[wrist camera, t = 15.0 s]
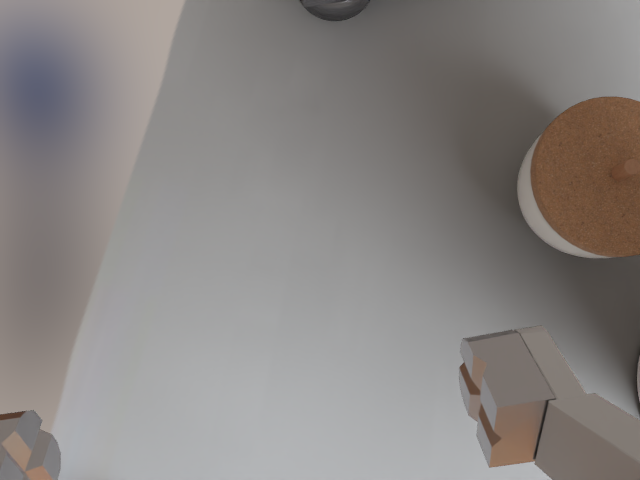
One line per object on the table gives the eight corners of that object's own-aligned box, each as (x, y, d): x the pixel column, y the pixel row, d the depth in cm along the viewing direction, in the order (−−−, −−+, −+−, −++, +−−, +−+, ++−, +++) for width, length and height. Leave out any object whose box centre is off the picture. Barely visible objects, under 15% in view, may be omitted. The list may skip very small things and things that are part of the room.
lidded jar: (609, 121, 44) (687, 68, 35) (651, 250, 42) (743, 230, 33) (481, 150, 44) (525, 105, 34) (519, 281, 42) (574, 270, 33)
